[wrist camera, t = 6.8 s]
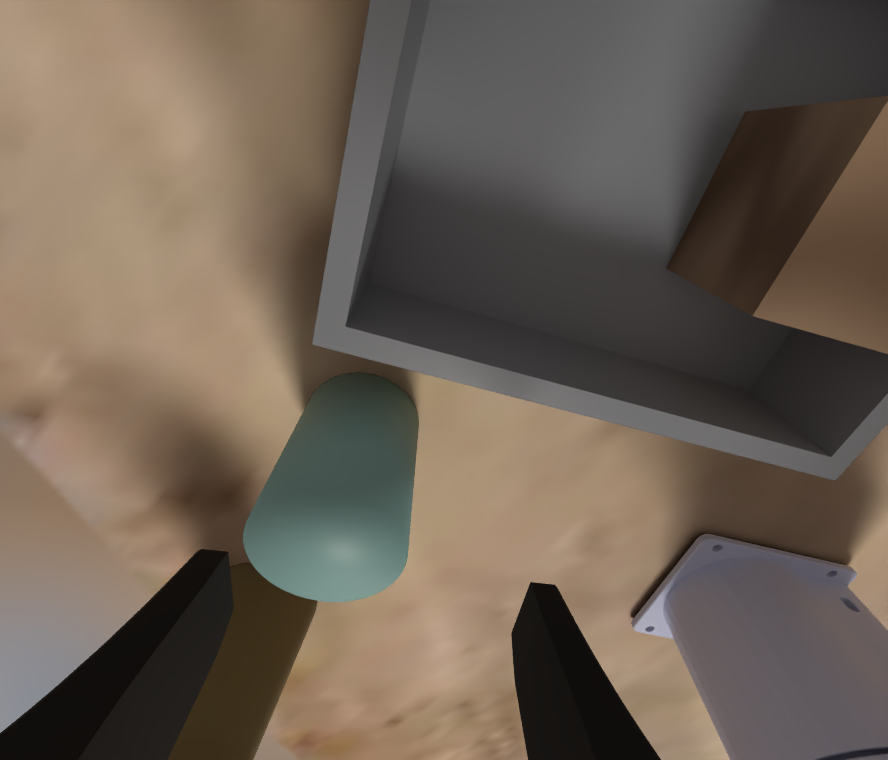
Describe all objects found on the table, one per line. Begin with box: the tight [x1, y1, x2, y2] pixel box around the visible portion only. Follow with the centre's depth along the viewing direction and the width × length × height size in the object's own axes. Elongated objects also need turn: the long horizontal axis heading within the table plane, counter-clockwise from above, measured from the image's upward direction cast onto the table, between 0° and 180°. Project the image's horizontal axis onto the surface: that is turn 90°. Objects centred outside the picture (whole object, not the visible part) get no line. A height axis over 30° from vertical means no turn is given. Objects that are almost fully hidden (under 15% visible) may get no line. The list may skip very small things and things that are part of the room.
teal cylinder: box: [243, 373, 419, 602], centre depth 17 cm, size 5×5×7 cm
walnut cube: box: [666, 96, 888, 354], centre depth 13 cm, size 5×5×5 cm
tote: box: [312, 0, 888, 481], centre depth 13 cm, size 18×14×5 cm
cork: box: [167, 563, 317, 760], centre depth 21 cm, size 6×6×11 cm
